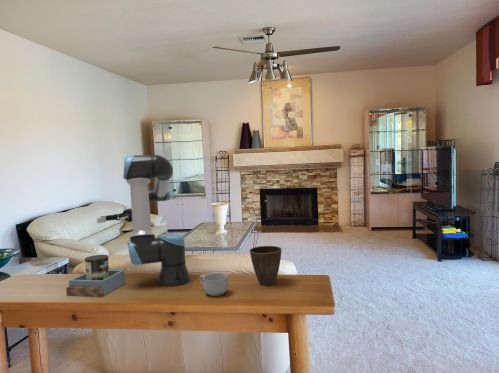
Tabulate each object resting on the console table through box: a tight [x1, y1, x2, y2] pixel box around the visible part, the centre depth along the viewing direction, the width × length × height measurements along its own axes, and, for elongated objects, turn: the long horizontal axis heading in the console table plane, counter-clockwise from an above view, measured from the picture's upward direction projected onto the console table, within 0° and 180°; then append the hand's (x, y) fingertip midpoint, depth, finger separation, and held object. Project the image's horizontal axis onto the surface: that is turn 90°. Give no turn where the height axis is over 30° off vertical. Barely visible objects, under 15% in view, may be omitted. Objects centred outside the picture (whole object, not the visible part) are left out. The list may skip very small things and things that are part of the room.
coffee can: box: [84, 254, 110, 281], centre depth 175 cm, size 10×10×14 cm
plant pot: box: [249, 245, 282, 286], centre depth 174 cm, size 15×15×16 cm
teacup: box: [199, 271, 229, 297], centre depth 163 cm, size 14×11×8 cm
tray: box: [68, 269, 126, 296], centre depth 175 cm, size 17×17×6 cm
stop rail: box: [65, 285, 105, 298], centre depth 166 cm, size 18×2×4 cm, turn 77°
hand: (109, 220), depth 192 cm, fingers open, 13 cm apart
